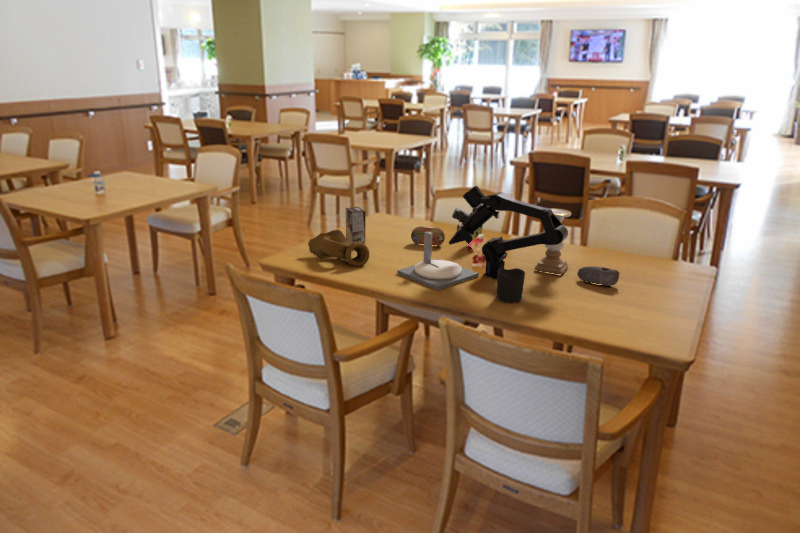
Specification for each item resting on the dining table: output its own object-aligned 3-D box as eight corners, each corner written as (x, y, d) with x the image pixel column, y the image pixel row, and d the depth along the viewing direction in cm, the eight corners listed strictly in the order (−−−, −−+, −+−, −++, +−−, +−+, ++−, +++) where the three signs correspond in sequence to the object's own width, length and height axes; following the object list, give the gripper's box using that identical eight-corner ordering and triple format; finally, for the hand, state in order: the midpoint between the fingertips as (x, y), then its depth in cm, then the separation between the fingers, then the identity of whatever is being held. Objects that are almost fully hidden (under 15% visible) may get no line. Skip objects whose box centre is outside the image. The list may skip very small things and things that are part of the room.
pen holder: (503, 291, 215) (506, 265, 212) (527, 298, 209) (530, 271, 206) (490, 298, 208) (492, 272, 205) (514, 306, 203) (516, 278, 199)
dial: (461, 264, 236) (463, 231, 232) (461, 280, 219) (463, 245, 215) (416, 262, 238) (417, 229, 233) (412, 277, 221) (413, 243, 217)
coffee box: (366, 247, 261) (366, 211, 255) (352, 248, 258) (352, 212, 253) (358, 241, 269) (358, 206, 263) (345, 242, 266) (344, 207, 261)
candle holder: (534, 271, 236) (540, 212, 228) (541, 263, 245) (547, 206, 237) (561, 276, 231) (568, 216, 223) (568, 268, 240) (575, 210, 232)
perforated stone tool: (574, 281, 226) (576, 264, 224) (579, 277, 230) (581, 260, 228) (613, 291, 218) (616, 273, 216) (618, 286, 222) (621, 269, 220)
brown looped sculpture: (351, 232, 256) (374, 237, 237) (345, 261, 257) (367, 269, 238) (311, 223, 247) (332, 228, 228) (305, 254, 247) (325, 261, 228)
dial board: (478, 276, 229) (478, 272, 228) (437, 290, 215) (438, 285, 214) (437, 262, 244) (437, 258, 243) (397, 273, 230) (397, 269, 229)
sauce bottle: (476, 249, 261) (479, 205, 254) (464, 246, 264) (466, 202, 258) (483, 245, 266) (486, 202, 259) (471, 243, 269) (474, 200, 263)
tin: (410, 244, 266) (411, 226, 263) (412, 242, 269) (413, 224, 266) (443, 248, 262) (444, 229, 259) (445, 246, 265) (446, 227, 262)
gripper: (465, 196, 233) (436, 222, 238) (464, 207, 216) (433, 235, 221) (484, 216, 235) (455, 242, 240) (485, 229, 217) (453, 256, 222)
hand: (449, 243), depth 231 cm, fingers closed
